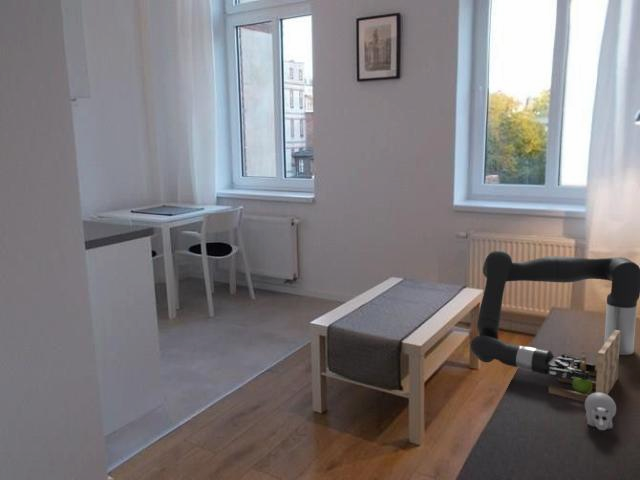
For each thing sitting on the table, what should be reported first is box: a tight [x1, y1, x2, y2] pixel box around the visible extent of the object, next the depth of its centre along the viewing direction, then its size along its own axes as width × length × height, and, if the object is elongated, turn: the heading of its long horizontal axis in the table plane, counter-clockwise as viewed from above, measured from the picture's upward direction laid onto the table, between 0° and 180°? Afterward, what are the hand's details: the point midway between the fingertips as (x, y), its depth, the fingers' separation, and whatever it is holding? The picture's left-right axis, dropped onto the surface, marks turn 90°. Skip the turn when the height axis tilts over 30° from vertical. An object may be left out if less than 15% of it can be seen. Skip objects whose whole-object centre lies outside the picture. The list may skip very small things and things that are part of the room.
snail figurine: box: [571, 351, 593, 395], centre depth 165 cm, size 5×6×12 cm
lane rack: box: [548, 330, 620, 403], centre depth 168 cm, size 22×14×16 cm, turn 141°
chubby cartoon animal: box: [584, 391, 617, 431], centre depth 145 cm, size 8×12×9 cm, turn 153°
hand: (591, 372), depth 163 cm, fingers open, 5 cm apart
